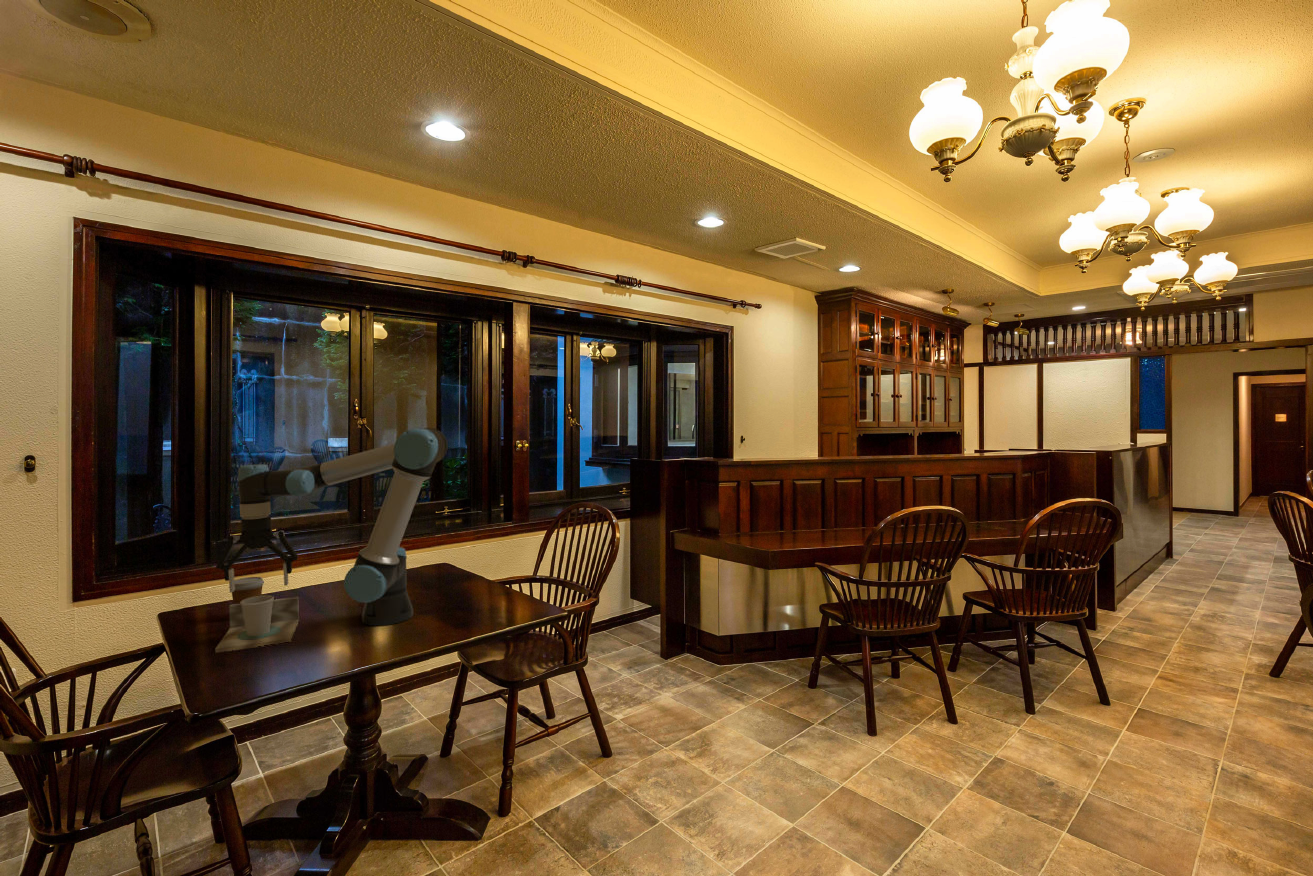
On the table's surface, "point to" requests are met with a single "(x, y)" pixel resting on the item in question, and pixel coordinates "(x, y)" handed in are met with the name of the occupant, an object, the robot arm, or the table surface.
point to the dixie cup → (257, 614)
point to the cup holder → (280, 631)
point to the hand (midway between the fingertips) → (259, 588)
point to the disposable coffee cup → (247, 588)
